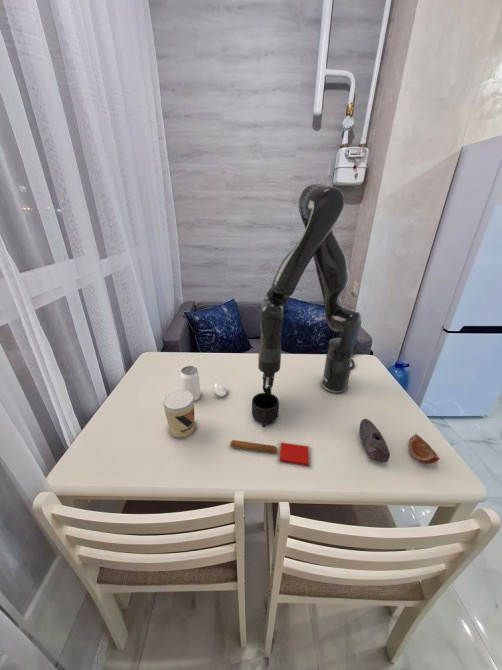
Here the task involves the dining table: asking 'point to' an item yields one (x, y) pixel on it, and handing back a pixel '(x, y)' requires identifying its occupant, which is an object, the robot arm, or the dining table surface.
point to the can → (191, 381)
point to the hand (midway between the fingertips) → (267, 397)
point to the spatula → (287, 454)
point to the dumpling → (219, 390)
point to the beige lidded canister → (179, 413)
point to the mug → (265, 408)
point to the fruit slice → (422, 450)
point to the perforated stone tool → (374, 442)
